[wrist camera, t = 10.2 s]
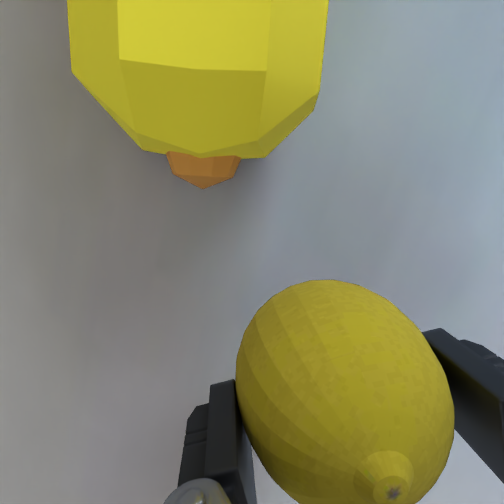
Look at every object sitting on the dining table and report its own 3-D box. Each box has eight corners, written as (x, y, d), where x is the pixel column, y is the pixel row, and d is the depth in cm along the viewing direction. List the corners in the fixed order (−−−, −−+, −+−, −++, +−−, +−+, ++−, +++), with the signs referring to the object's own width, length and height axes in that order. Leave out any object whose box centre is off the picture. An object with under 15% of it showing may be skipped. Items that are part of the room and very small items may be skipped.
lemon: (317, 412, 16) (412, 652, 8) (204, 344, 15) (181, 539, 7) (400, 305, 15) (595, 450, 7) (287, 227, 14) (369, 293, 6)
